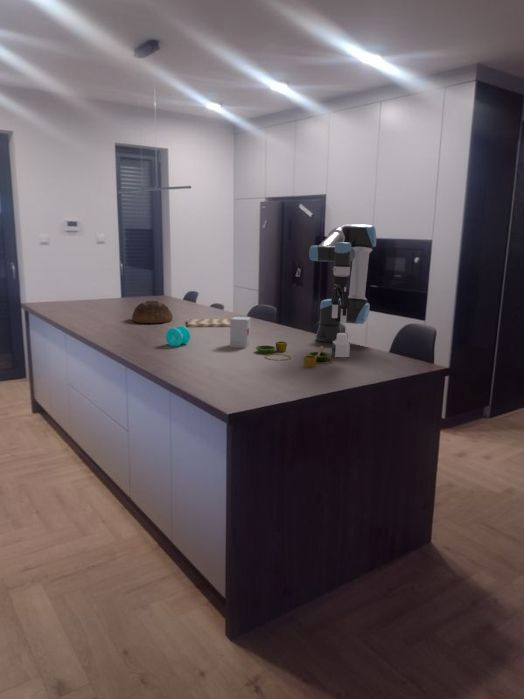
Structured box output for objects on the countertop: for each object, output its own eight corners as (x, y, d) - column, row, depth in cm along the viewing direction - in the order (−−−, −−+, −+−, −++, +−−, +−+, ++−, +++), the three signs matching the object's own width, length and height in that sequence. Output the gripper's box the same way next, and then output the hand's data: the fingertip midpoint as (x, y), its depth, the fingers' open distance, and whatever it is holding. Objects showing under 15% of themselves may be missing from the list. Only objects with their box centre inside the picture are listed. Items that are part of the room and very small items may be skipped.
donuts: (164, 346, 277) (164, 327, 274) (176, 342, 285) (175, 324, 283) (180, 348, 272) (180, 329, 270) (191, 345, 281) (191, 326, 279)
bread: (169, 317, 368) (169, 298, 365) (175, 323, 344) (175, 303, 341) (130, 318, 360) (130, 298, 357) (134, 325, 336) (133, 304, 333)
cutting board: (232, 321, 356) (232, 318, 356) (236, 326, 337) (236, 324, 336) (186, 321, 351) (186, 319, 351) (187, 327, 332) (187, 324, 331)
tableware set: (343, 367, 244) (344, 353, 243) (290, 372, 232) (290, 358, 231) (298, 348, 280) (298, 336, 279) (249, 353, 268) (250, 340, 267)
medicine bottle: (331, 355, 265) (332, 331, 262) (345, 355, 266) (347, 331, 263) (334, 358, 258) (335, 334, 256) (349, 358, 259) (350, 334, 256)
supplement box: (246, 348, 275) (247, 319, 272) (229, 347, 277) (229, 318, 273) (250, 345, 284) (251, 317, 280) (234, 344, 285) (234, 316, 282)
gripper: (326, 273, 265) (323, 316, 269) (341, 277, 241) (339, 324, 245) (340, 273, 266) (338, 316, 270) (357, 277, 242) (354, 324, 246)
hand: (338, 320), depth 258 cm, fingers open, 13 cm apart
